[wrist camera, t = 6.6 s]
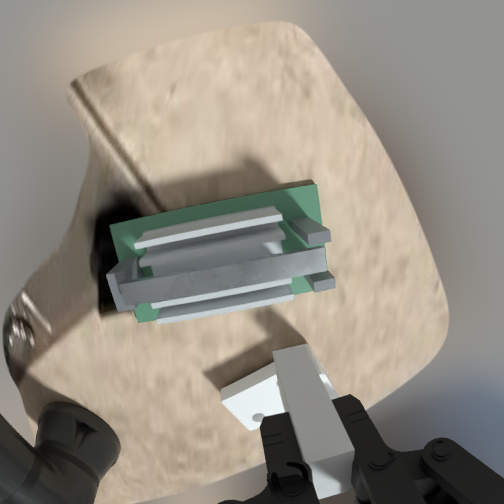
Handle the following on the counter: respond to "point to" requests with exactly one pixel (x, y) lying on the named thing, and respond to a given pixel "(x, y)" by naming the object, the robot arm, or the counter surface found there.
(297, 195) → the heatsink board
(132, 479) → the counter surface
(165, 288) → the strap
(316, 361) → the bracket
